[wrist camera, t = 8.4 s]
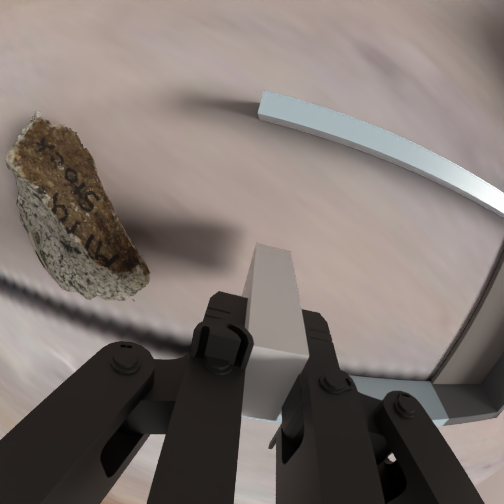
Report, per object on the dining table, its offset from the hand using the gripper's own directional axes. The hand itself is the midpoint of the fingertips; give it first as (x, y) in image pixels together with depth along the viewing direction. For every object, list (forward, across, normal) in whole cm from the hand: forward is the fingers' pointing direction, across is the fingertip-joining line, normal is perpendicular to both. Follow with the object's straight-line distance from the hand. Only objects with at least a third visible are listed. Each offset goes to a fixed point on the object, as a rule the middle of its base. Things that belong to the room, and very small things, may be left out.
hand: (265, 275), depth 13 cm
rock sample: (+2, -10, -1) cm, 10 cm away
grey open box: (+2, +19, 0) cm, 19 cm away
